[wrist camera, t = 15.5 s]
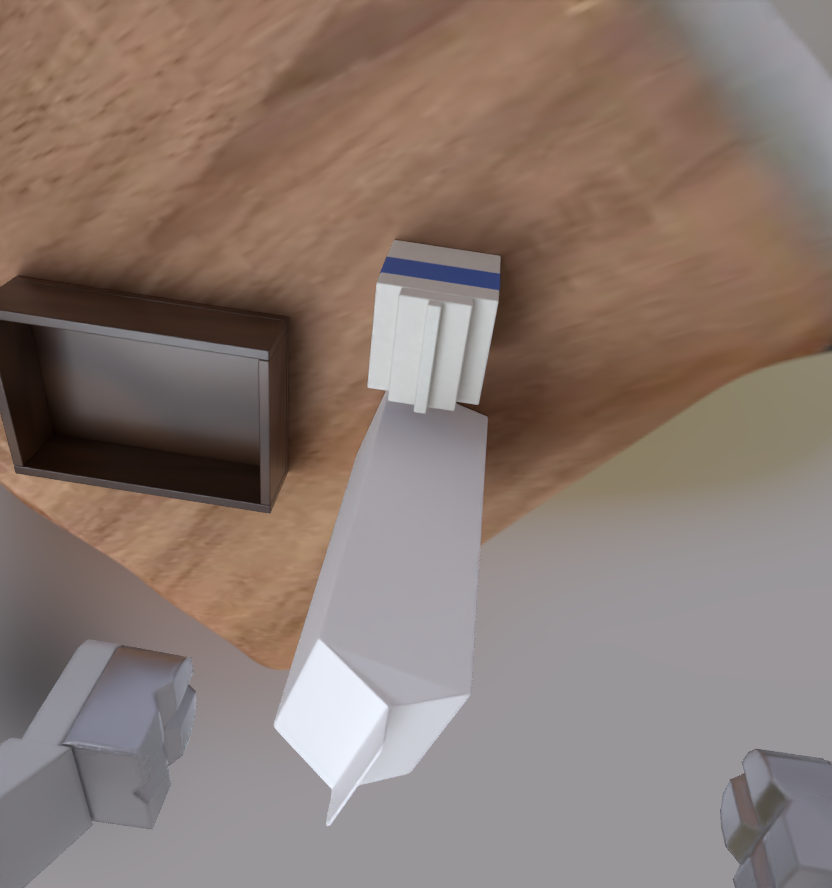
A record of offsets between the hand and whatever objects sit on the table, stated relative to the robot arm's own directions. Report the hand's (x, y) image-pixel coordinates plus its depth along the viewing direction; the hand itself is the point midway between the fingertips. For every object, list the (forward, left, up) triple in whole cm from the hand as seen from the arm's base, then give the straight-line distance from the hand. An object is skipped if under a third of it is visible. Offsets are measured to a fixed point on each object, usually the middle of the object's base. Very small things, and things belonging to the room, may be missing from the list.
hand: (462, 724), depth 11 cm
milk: (+15, -2, -29) cm, 33 cm away
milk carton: (+6, -2, -29) cm, 30 cm away
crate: (+14, -18, -29) cm, 37 cm away
